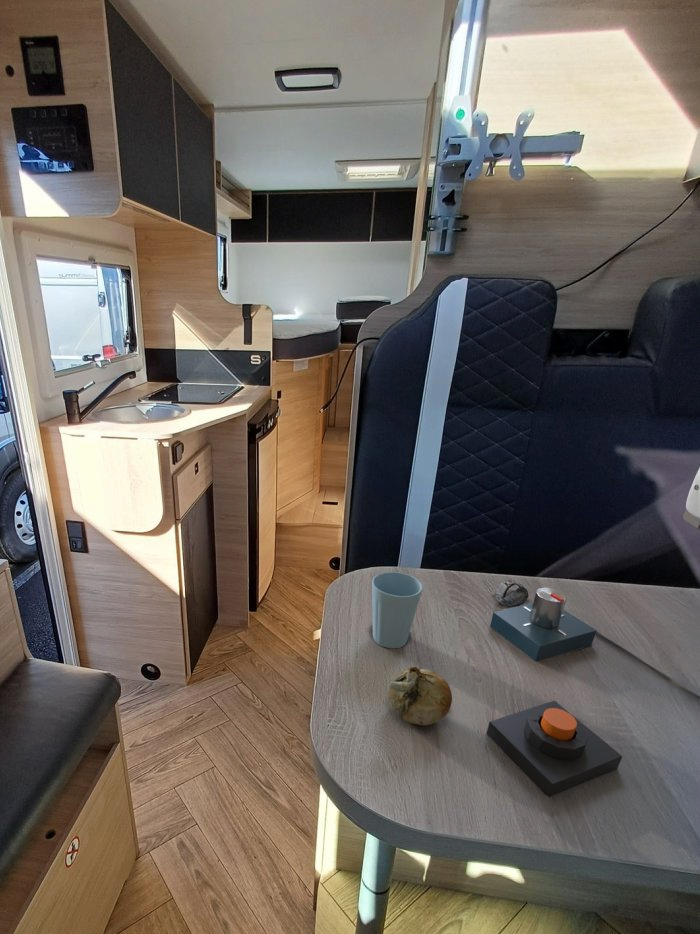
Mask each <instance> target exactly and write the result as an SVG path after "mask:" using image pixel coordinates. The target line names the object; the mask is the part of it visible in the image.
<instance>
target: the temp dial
mask: <svg viewBox="0 0 700 934" xmlns="http://www.w3.org/2000/svg"><path fill="white" fill-rule="evenodd" d="M567 599H568V597H567V595H566V594H565V593H564V592H562V591H561V590H558V589H555V588H552V587H540V588H537V589H536V592H535V595H534V599H533V602H532V603H533V606H532V609H531V613H530V617H529V618H530V620H531V621H532V622H533V623H534V624H536V625H538V626H540V627H544V628H556V627H557V626H558V625H559V622H560V619H561V616H562V613H563V609H564V610H565V606H566V603H567Z"/></svg>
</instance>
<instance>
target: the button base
mask: <svg viewBox="0 0 700 934" xmlns="http://www.w3.org/2000/svg"><path fill="white" fill-rule="evenodd" d="M549 708H557V709H561V710H564V711H566V712H568V713H569V714H571V712H569V711H568V710H567V709H566V708H564V707H563V705H561V704H560V703H558V702H557V701H556V700H551V701H548V702H545V703H542V704H539V705H536V706H533V707H529V708H527V709H524V710H521V711H517V712H515V713H512V714H509V715H506V716H502V717H500V718H497V719H493V720H490V721H489V722H488V726H487V729H486V735H487V736H488V738H490V739H491V741H493V743H494V744H496V746H498V748H500V750H502V752H503V753H504V754H506V756H507V757H508V758H509V759H510V760H511V761H512V762H513V763H514V764H515V765H516V766H517V767H518V768H519V770H521V771H522V772H523V773H524V774H525V775H526V776H527V777H528V778H529V779H530V781H532V782H533V784H534V785H535V786H536V787H538V788H539V790H541V792H543V794H544V795H545V796H546V797H548V798H550V797H552V796H555V795H557V794H560V793H562V792H564V791H567V790H569V789H572V788H574V787H577V786H579V785H582V784H584V783H587V782H588V781H589V782H590V781H591V780H594V779H596V778H599V777H601V776H603V775H606V774H609V773H611V772H614V771H616V770H618V768H619V765H620V763H621V761H622V759H623V755H622V754H621V753H619V752H618V751H617V750H615V748H613V747H612V746H611V745H610V744H608V743H607V742H606V741H605V740H603V739H602V738H601V737H600V736H599V735H597V734H596V733H595V732H594V731H592V730H591V729H590V728H589V727H587V726H586V725H585V724H584V723H582V721H580V720H579V719H578V718H577V717H576V716H574V715H573V714H571V715H572V716H573V717H574V718H575V720H576V722H577V727H576V730H575V733H574V735H573V738H572V739H570V740H567V741H563V740H557V739H555V738H553V737H551V736H548V735H547V734H546V733H545V732H544V731H543V730H542V728H541V721H542V718H543V714H544V712H545V711H546V710H547V709H549Z"/></svg>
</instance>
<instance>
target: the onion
mask: <svg viewBox="0 0 700 934" xmlns="http://www.w3.org/2000/svg"><path fill="white" fill-rule="evenodd" d="M388 687H389V691H388V696H389V700H390V704H391V706H392V708H393V711H394V712H396V714H397V715H398V716H399V717H400V718H401V719H403V720H404V721H405V722H407V723H409V724H412V725H419V726H429V725H433V724H435V723H438V722H439V721H441V720H442V719H444V717H446V716H447V715H448V713H449V711H450V709H451V708H452V707H451V706H452V703H453V695H452V690H451V687H450V685H449V683H448V681H447V680H446V679H445V678H444V677H443V676H442V675H440V674H438V673H437V672H435V671H432V670H430V669H427V668H420V667H418V666H416V665H415V666H411V667H409V668H407V669H405V670H403V671H401V672H400V673H399V674H398V675H396V677H395V679H394V680H388Z"/></svg>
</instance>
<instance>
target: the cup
mask: <svg viewBox="0 0 700 934" xmlns="http://www.w3.org/2000/svg"><path fill="white" fill-rule="evenodd" d="M423 588H424V586H423V584H422V582H421V581H420V579H417V578H416V577H415V576H412V575H410V574H407V573H403V572H400V571H385V572H381V573H378V574H376V575H375V576H374V577H373V578H372V580H371V596H372V597H371V599H372V601H371V602H372V604H371V605H372V609H371V612H372V614H371V615H372V638H373V641H374V642H375V643H376V644H378V645H379V646H381V647H383V648H388V649H400V648H402V647H404V646H405V645H406V644H407V642H408V639H409V636H410V633H411V629H412V626H413V622H414V618H415V616H416V612H417V609H418V605H419V602H420V599H421V596H422V592H423Z"/></svg>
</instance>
